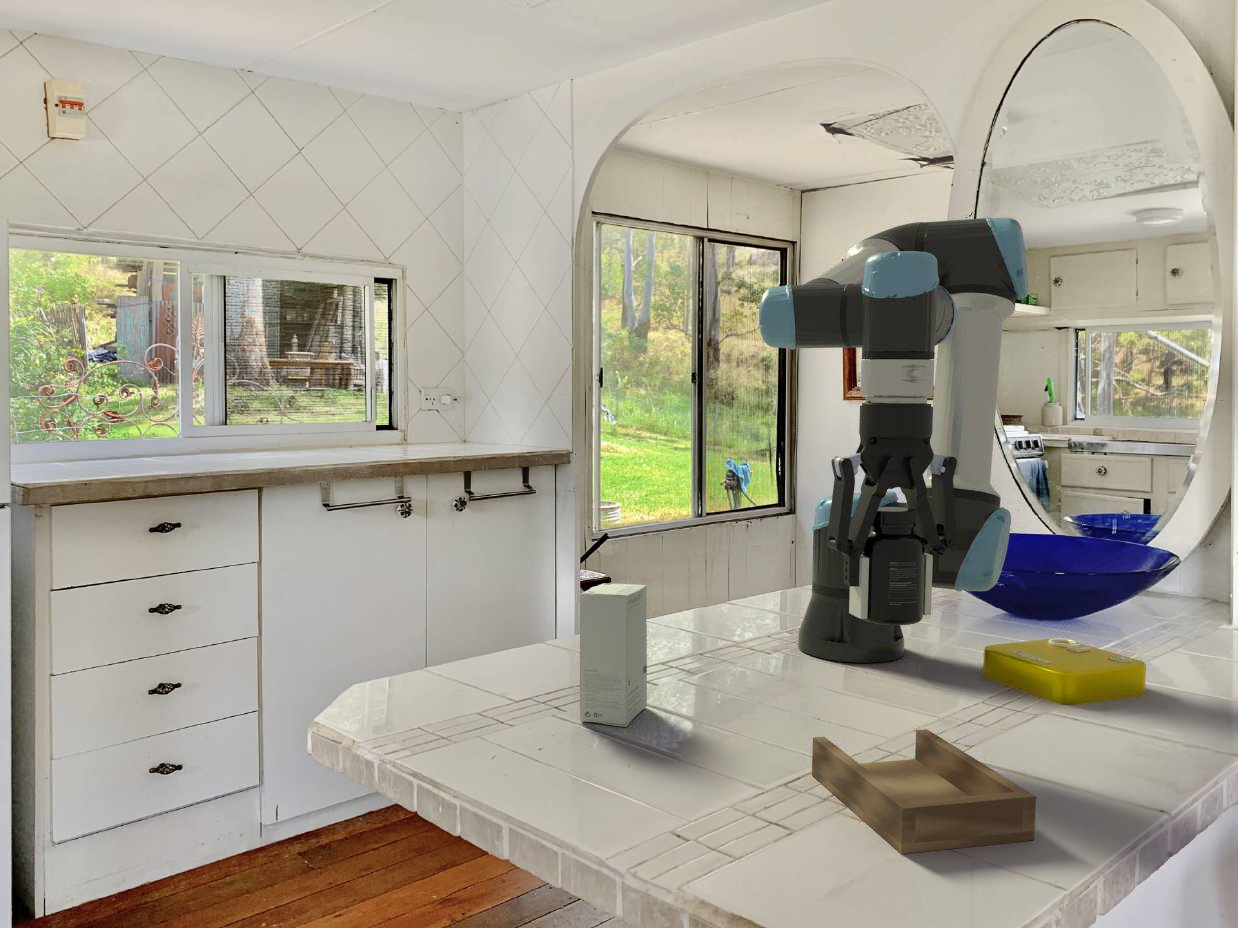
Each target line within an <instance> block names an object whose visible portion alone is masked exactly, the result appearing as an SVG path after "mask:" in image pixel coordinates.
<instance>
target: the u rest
mask: <svg viewBox="0 0 1238 928" xmlns="http://www.w3.org/2000/svg"><path fill="white" fill-rule="evenodd" d="M914 752H915V753H914V758H913V759H899V760H887V761H877V762H864V763H860V762H858V761H857V760H855V759H854V758H853V757H852V756H850V754H847V753H846V752H845V751H844V750H842V749H841V748H840V747H839V746H837V745H836V744H835V743H833V742H832V741H831V740H830V739H828V738H827V737H825V736H816V737H814V736H813V737H812V753H811V756H812V759H811V760H812V761H811V776H812V777H813V778H814V779H815V780H817V781H818V782H819V783H820V784H821V785H822V786H823V787H824V788H826V790H828V791H829V792H830V793H831V794H832V795H833V796H835V797H836V798H837V799H838V800H840V802H842V803H843V805H845V806H846V807H847V808H848V809H849V810H850V811H852V812H853V813H854V814H855V815H856V816H857V817H859V818H860V819H861V820H862V821H863V823H865V824H866V825H868V826H869V827H870V828H871V829H872V830H873V831H874V832H875V833H877V834H878V835H879V836H880V837H881V838H882V839H883V840H884V841H886V842H887V844H889V845H890V846H892V847H893V848H894V850H896V851H897V852H898V853H900V855H904V854H913V853H914V854H915V853H924V852H932V851H943V850H952V849H961V848H962V849H963V848H973V847H980V846H981V847H982V846H990V845H1000V844H1011V843H1019V842H1021V843H1022V842H1028V841H1035V827H1036V808H1037V807H1036V806H1037V796H1036V795H1034V794H1033V793H1031V792H1030V791H1029V790H1027V789H1025V788H1023V787H1022V786H1020V785H1019V784H1017V783H1016V782H1014V781H1011V779H1008V777H1006V776H1004V775H1002V774H1001V773H999V772H998V771H995V770H994V769H992V768H991V767H989V766H987V765H986V764H984V763H982V762H981V761H979V760H977V759H976V758H974V757H973V756H971V755H969V754H968V753H967V752H965V751H963V750H961V749H960V748H958V747H957V746H955V745H953V744H952V743H950V742H948V741H947V740H946V739H943V738H942V737H940V736H939V735H937V734H935V733H934V732H933V731H930V730H929V729H928V728H926V729H924V728H923V729H916V730H915V751H914Z"/></svg>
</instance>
